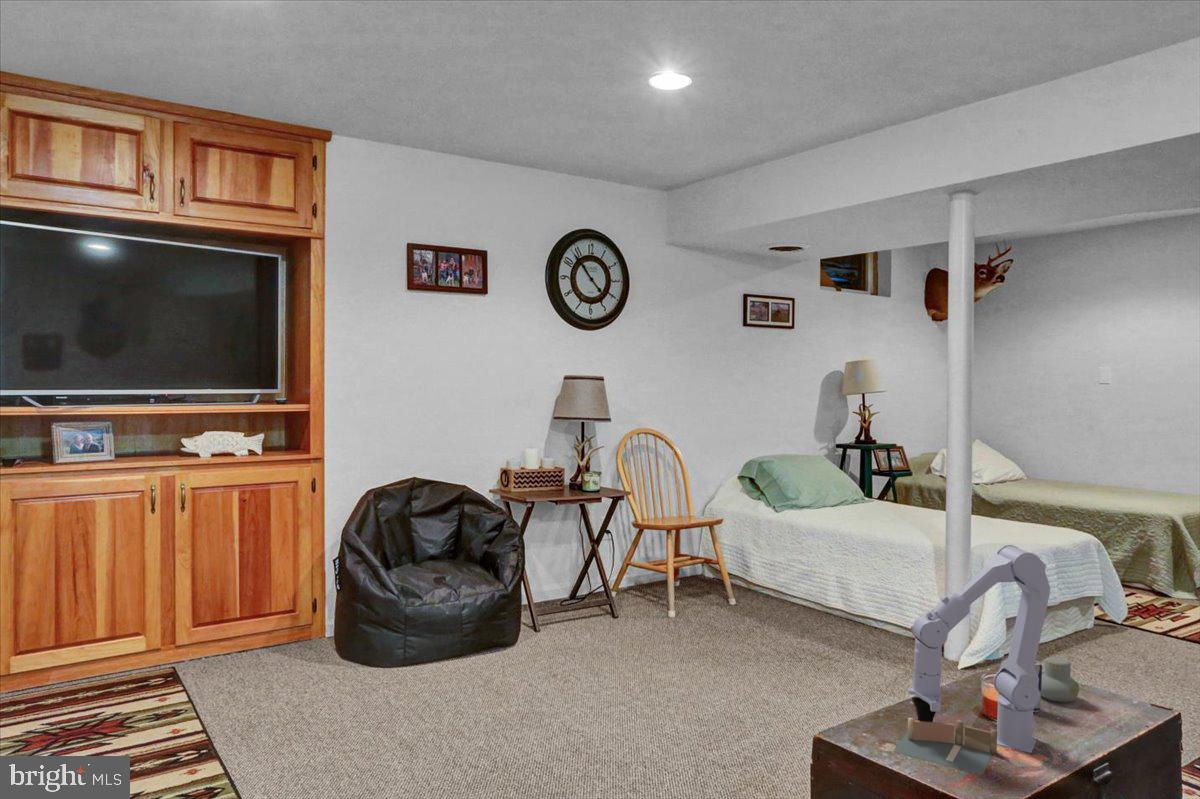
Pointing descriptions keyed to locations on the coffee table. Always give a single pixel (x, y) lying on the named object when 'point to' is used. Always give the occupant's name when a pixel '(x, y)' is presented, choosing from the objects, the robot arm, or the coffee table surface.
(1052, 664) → the grey l-shaped piece
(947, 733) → the fence panel
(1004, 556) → the robot arm
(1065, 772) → the coffee table surface
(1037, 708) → the energy drink
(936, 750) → the card
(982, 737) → the fence frame
